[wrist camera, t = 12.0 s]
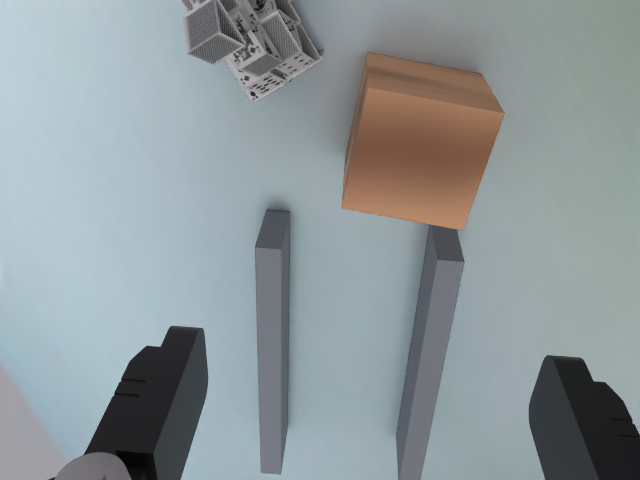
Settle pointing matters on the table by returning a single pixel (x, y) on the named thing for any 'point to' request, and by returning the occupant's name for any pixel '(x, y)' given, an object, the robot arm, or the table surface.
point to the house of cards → (250, 41)
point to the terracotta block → (419, 141)
